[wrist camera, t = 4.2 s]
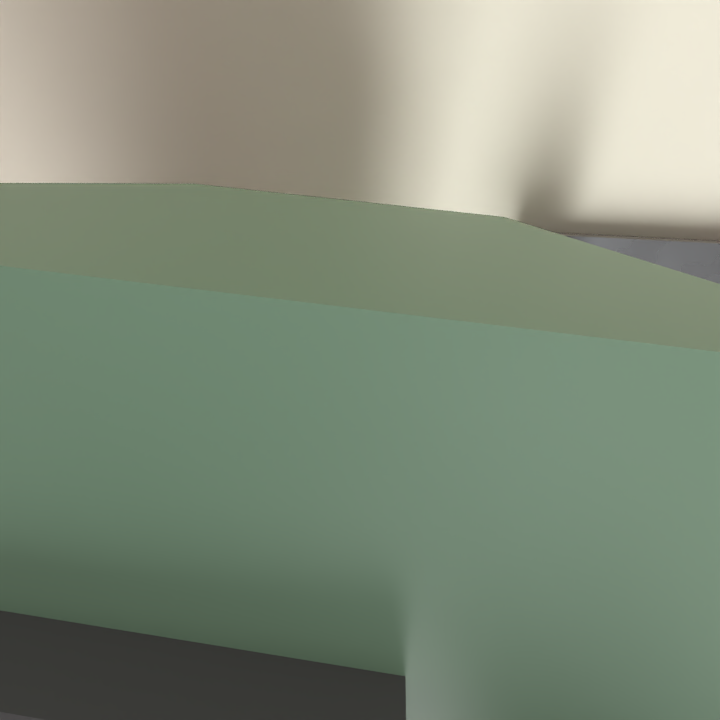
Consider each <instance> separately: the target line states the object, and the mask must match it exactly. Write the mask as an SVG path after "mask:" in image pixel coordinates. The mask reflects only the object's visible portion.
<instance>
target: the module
mask: <svg viewBox="0 0 720 720" xmlns="http://www.w3.org/2000/svg"><path fill="white" fill-rule="evenodd" d="M0 720H720V284H718V283H715V282H712V281H709V280H705V279H702V278H699V277H696V276H692V275H689V274H686V273H683V272H680V271H676V270H673V269H670V268H667V267H663V266H660V265H657V264H654V263H651V262H647V261H644V260H641V259H638V258H634V257H631V256H628V255H625V254H622V253H618V252H615V251H612V250H609V249H605V248H602V247H599V246H596V245H593V244H589V243H586V242H583V241H580V240H576V239H573V238H570V237H567V236H564V235H560V234H557V233H554V232H551V231H547V230H544V229H541V228H538V227H535V226H531V225H528V224H525V223H522V222H518V221H515V220H512V219H509V218H505V217H499V216H490V215H481V214H471V213H462V212H453V211H443V210H434V209H425V208H415V207H406V206H397V205H387V204H378V203H369V202H359V201H350V200H341V199H332V198H322V197H313V196H304V195H294V194H285V193H276V192H266V191H257V190H248V189H238V188H229V187H220V186H210V185H201V184H133V183H0Z"/></svg>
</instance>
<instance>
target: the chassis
mask: <svg viewBox="0 0 720 720" xmlns="http://www.w3.org/2000/svg"><path fill="white" fill-rule="evenodd" d="M557 234H560V235H564V236H567V237H570V238H573V239H576V240H580V241H583V242H586V243H589V244H593V245H596V246H599V247H602V248H605V249H609V250H612V251H615V252H618V253H622V254H625V255H628V256H631V257H634V258H638V259H641V260H644V261H647V262H651V263H654V264H657V265H660V266H663V267H667V268H670V269H673V270H676V271H680V272H683V273H686V274H689V275H692V276H696V277H699V278H702V279H705V280H709V281H712V282H715V283H718V284H720V241H710V240H690V239H670V238H650V237H630V236H610V235H589V234H569V233H557Z"/></svg>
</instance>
